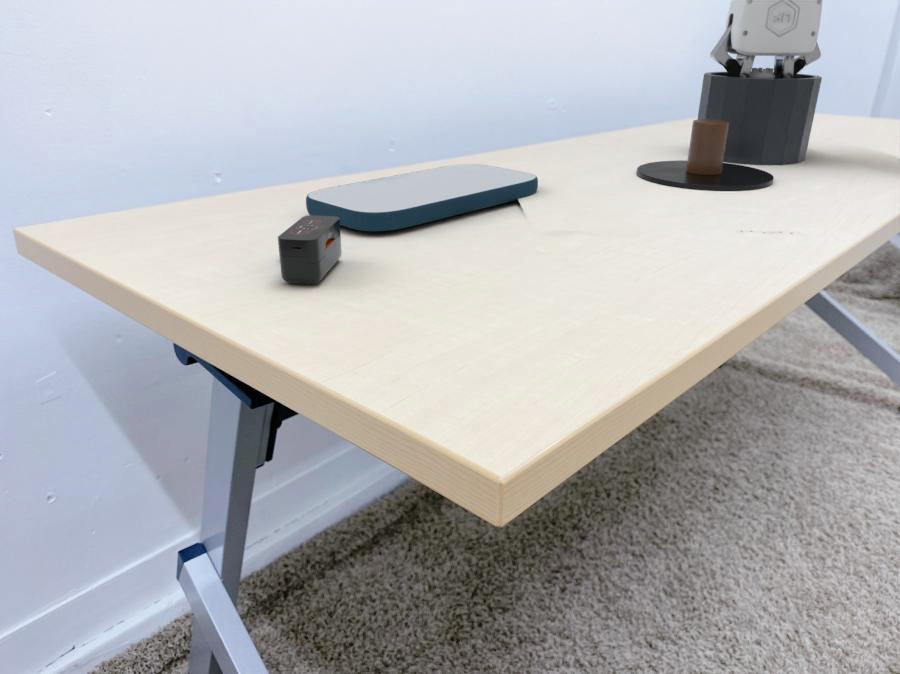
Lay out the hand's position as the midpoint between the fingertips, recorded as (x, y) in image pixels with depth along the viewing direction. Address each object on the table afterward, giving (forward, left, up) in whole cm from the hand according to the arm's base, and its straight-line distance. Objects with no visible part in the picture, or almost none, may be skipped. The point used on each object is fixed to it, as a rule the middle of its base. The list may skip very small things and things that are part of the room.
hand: (755, 113), depth 91 cm
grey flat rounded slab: (+42, +25, -6) cm, 49 cm away
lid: (+11, +14, -5) cm, 19 cm away
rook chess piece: (0, 0, -3) cm, 3 cm away
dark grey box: (+51, +44, -6) cm, 68 cm away
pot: (0, 0, -6) cm, 6 cm away
